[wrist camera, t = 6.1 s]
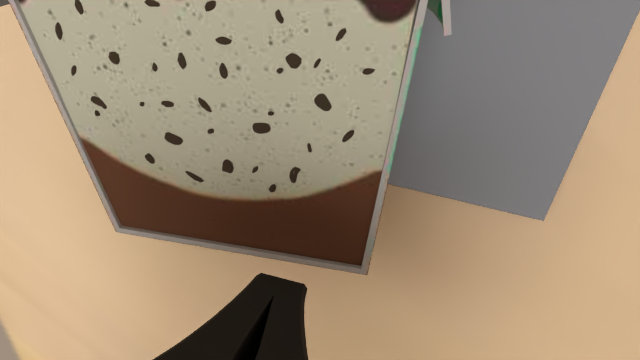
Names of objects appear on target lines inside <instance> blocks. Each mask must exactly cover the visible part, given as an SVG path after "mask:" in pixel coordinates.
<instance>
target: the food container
mask: <svg viewBox="0 0 640 360" xmlns="http://www.w3.org/2000/svg"><path fill="white" fill-rule="evenodd" d="M7 4H10V5H11V7H12V10H13V12H14V14H15V16H16V18H17V20H18V22H19V25H20V27H21V29H22V31H23V33H24V35H25V38H26V40H27V42H28V44H29V46H30V48H31V50H32V53H33V55H34V57H35V59H36V61H37V63H38V66H39V68H40V70H41V72H42V74H43V76H44V78H45V81H46V83H47V85H48V87H49V89H50V91H51V93H52V96H53V98H54V100H55V102H56V104H57V106H58V109H59V111H60V113H61V115H62V117H63V119H64V121H65V124H66V126H67V128H68V130H69V132H70V134H71V136H72V139H73V141H74V143H75V145H76V147H77V149H78V152H79V154H80V156H81V158H82V160H83V162H84V164H85V167H86V169H87V171H88V173H89V175H90V177H91V179H92V182H93V184H94V186H95V188H96V190H97V192H98V195H99V197H100V199H101V201H102V203H103V205H104V207H105V210H106V212H107V214H108V216H109V218H110V220H111V222H112V225H113V227H114V229H115V231H116V232H119V233H124V234H130V235H136V236H142V237H148V238H154V239H159V240H165V241H171V242H177V243H183V244H189V245H194V246H200V247H206V248H212V249H218V250H224V251H229V252H235V253H241V254H247V255H253V256H259V257H264V258H270V259H276V260H282V261H288V262H294V263H299V264H305V265H311V266H317V267H323V268H329V269H334V270H340V271H346V272H352V273H358V274H364V275H367V274H368V269H369V265H370V260H371V256H372V251H373V247H374V242H375V238H376V233H377V229H378V224H379V220H380V215H381V211H382V206H383V202H384V197H385V193H386V188H387V184H388V179H389V175H390V170H391V166H392V161H393V157H394V152H395V148H396V143H397V139H398V134H399V130H400V125H401V121H402V116H403V112H404V107H405V102H406V98H407V93H408V89H409V84H410V80H411V75H412V71H413V66H414V62H415V57H416V53H417V48H418V44H419V39H420V35H421V30H422V26H423V21H424V17H425V12H426V8H428V9H429V10H430V11H431V12H433V13H434V14H435V16H436V17H437V18H438V20H439V21H440V23H441V24H442V28H443V33H444V36H447V35H452V31H451V13H450V0H0V6H4V5H7Z"/></svg>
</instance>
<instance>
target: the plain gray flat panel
mask: <svg viewBox="0 0 640 360" xmlns="http://www.w3.org/2000/svg"><path fill="white" fill-rule="evenodd" d="M639 10H640V0H450V13H451V31H452V35H447V36H444V33H443V28H442V24H441V23H440V21H439V20H438V18H437V17H436V16H435V14H434V13H433V12H431V11H430V10H429V9H428V8H426V12H425V17H424V21H423V26H422V30H421V35H420V39H419V44H418V48H417V53H416V57H415V62H414V66H413V71H412V75H411V80H410V84H409V89H408V93H407V98H406V102H405V107H404V112H403V116H402V121H401V125H400V130H399V134H398V139H397V143H396V148H395V152H394V157H393V161H392V166H391V170H390V175H389V179H388V184H391V185H395V186H399V187H403V188H408V189H412V190H416V191H420V192H424V193H429V194H433V195H437V196H441V197H445V198H450V199H454V200H458V201H462V202H466V203H471V204H475V205H479V206H483V207H487V208H492V209H496V210H500V211H504V212H508V213H512V214H517V215H521V216H525V217H529V218H533V219H538V220H542V221H544V219H545V216H546V214H547V212H548V210H549V208H550V205H551V203H552V201H553V199H554V197H555V195H556V192H557V190H558V188H559V186H560V184H561V181H562V179H563V177H564V175H565V173H566V170H567V168H568V166H569V164H570V162H571V159H572V157H573V155H574V153H575V151H576V149H577V146H578V144H579V142H580V140H581V138H582V135H583V133H584V131H585V129H586V127H587V124H588V122H589V120H590V118H591V116H592V113H593V111H594V109H595V107H596V105H597V102H598V100H599V98H600V96H601V94H602V92H603V89H604V87H605V85H606V83H607V81H608V78H609V76H610V74H611V72H612V70H613V67H614V65H615V63H616V61H617V59H618V56H619V54H620V52H621V50H622V48H623V46H624V43H625V41H626V39H627V37H628V35H629V32H630V30H631V28H632V26H633V24H634V21H635V19H636V17H637V15H638V13H639Z"/></svg>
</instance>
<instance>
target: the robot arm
mask: <svg viewBox="0 0 640 360" xmlns="http://www.w3.org/2000/svg"><path fill="white" fill-rule="evenodd" d="M306 292H307V288H306V286H305V285H304V284H302V283H298V282H294V281H290V280H286V279H282V278H278V277H275V276H271V275H267V274H263V273H261V274H259V275H257V276H256V277H255V278H254V279H253V280H252V281H251V282H250V283H249V284H248V286H247V287H246V288H245V289H244V290H243V291H241V292H240V293H239V294H238V295H237V296H236V297H235V298H234V299H233V300H232V301H231V302H230V303H229V304H227V305H226V306H225V307H224V308H223V309H222V310H221V311H219V312H218V313H217V314H216V315H215V316H214V317H212V318H211V319H210V320H209V321H207V322H206V323H205V324H204V325H202V326H201V327H200V328H198V329H197V330H196V331H194V332H193V333H192V334H191V335H189V336H188V337H186V338H185V339H184V340H182V341H181V342H179V343H178V344H176V345H175V346H173V347H172V348H170V349H169V350H167V351H166V352H164V353H163V354H161V355H159V356H158V357H156V358H155V359H153V360H308V355H307V348H306V338H305V327H304V303H305V296H306Z"/></svg>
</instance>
